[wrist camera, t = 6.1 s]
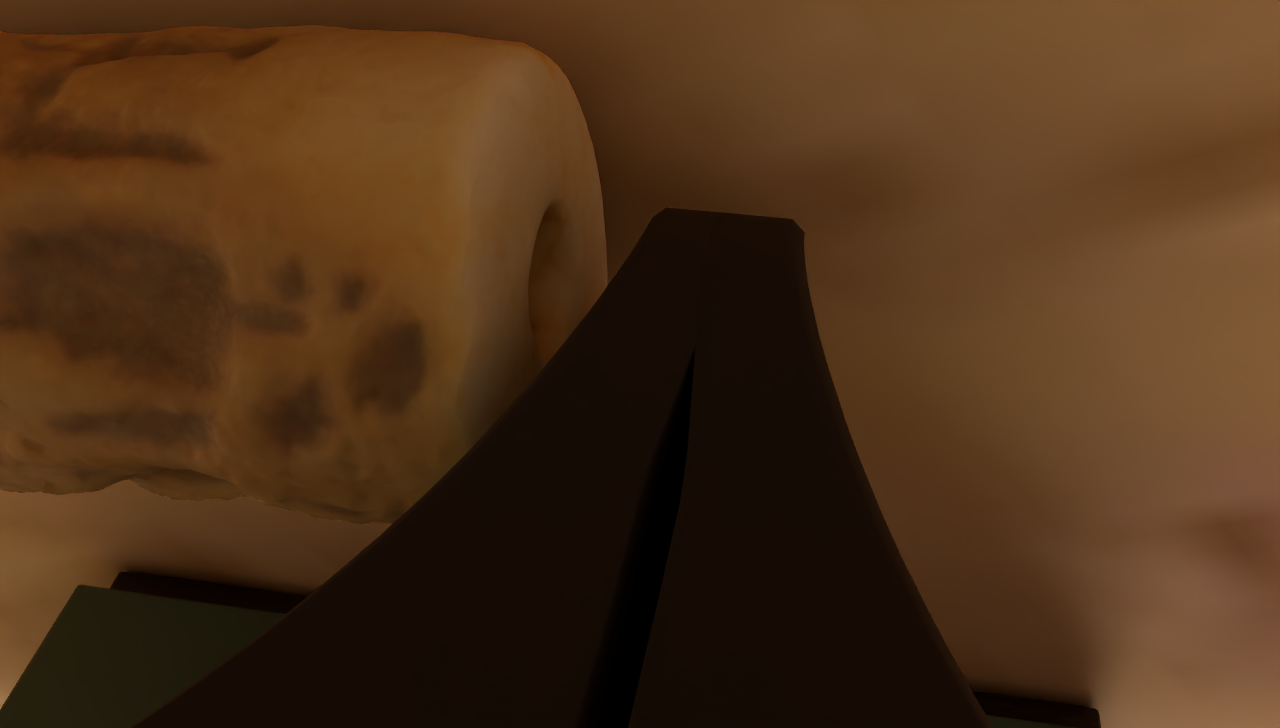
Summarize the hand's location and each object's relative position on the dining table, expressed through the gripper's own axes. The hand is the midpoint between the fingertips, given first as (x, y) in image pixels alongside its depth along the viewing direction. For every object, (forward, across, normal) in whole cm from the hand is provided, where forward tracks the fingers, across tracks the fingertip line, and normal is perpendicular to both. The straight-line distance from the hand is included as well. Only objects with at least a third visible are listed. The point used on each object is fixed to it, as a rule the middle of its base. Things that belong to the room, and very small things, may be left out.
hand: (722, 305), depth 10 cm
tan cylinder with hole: (+2, +5, 0) cm, 6 cm away
